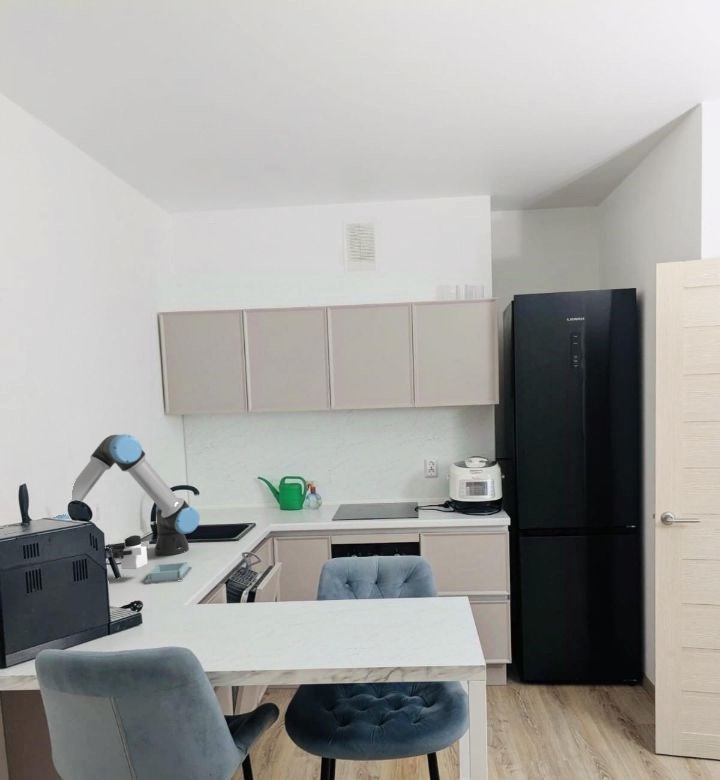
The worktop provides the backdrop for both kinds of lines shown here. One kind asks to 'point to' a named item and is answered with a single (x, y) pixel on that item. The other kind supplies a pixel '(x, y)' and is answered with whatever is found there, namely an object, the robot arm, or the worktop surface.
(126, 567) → the medicine bottle
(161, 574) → the shallow blue tray
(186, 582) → the worktop surface
